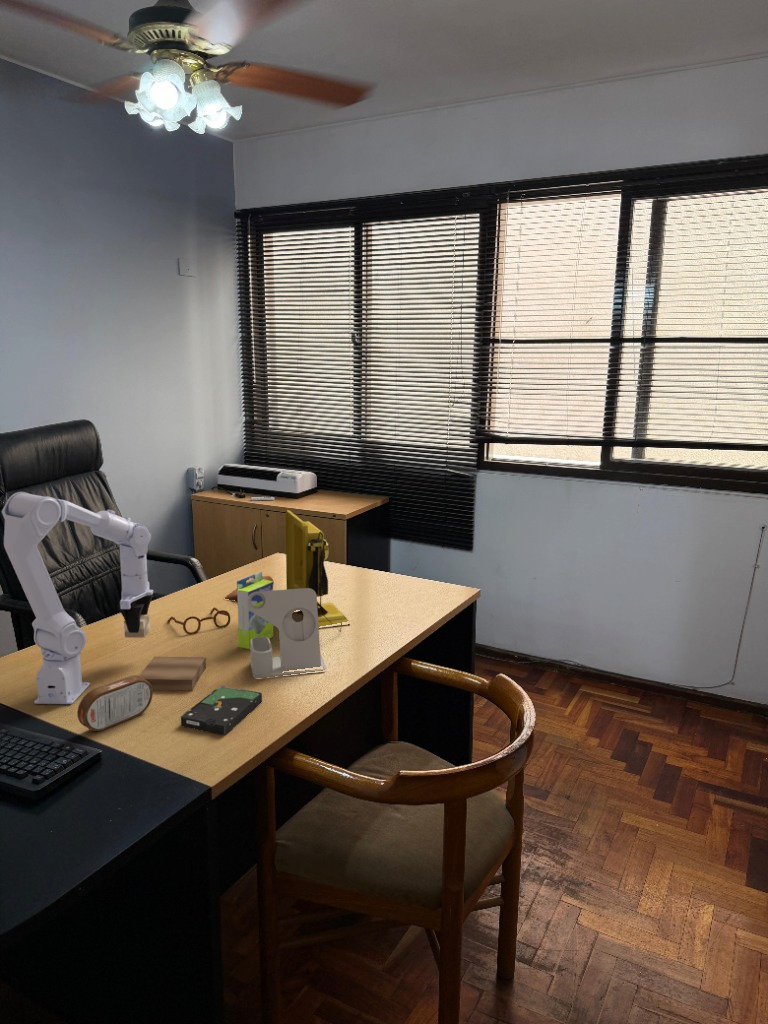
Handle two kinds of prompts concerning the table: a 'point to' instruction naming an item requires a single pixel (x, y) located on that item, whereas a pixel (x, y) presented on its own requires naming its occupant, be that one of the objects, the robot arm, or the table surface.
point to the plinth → (174, 672)
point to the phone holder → (287, 633)
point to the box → (247, 620)
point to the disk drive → (221, 710)
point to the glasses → (203, 620)
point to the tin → (114, 703)
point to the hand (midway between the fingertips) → (137, 628)
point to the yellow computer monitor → (309, 565)
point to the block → (143, 628)
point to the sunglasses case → (234, 594)
